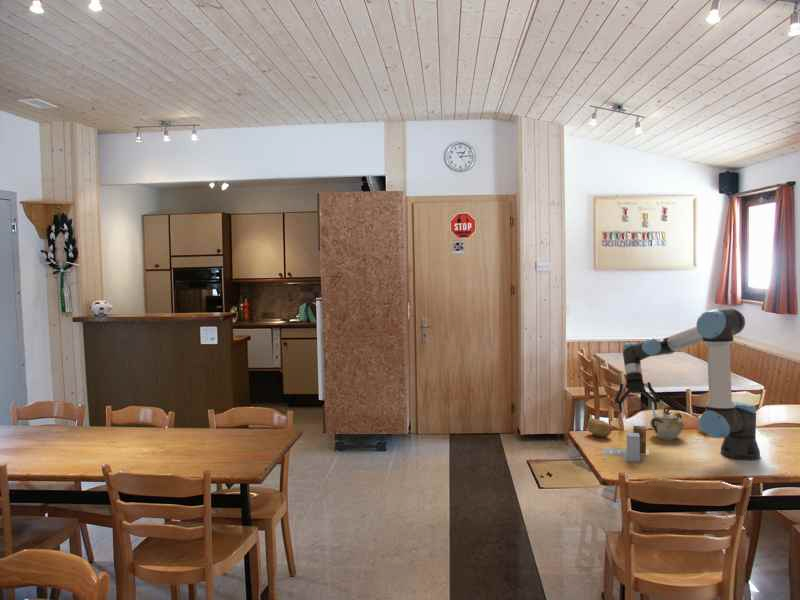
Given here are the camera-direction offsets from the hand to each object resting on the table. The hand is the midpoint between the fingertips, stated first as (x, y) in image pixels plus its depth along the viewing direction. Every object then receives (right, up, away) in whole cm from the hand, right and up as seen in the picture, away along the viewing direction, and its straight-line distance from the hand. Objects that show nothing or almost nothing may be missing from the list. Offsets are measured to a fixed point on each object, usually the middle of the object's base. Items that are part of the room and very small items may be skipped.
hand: (639, 416), depth 289 cm
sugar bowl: (+18, -12, +10) cm, 24 cm away
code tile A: (-15, -14, -11) cm, 23 cm away
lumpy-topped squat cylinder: (+44, -11, +20) cm, 49 cm away
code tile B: (-11, -15, -22) cm, 28 cm away
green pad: (-4, -14, -11) cm, 18 cm away
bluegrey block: (-11, -14, -22) cm, 28 cm away
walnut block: (-4, -13, -11) cm, 18 cm away
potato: (-14, -12, +14) cm, 23 cm away
